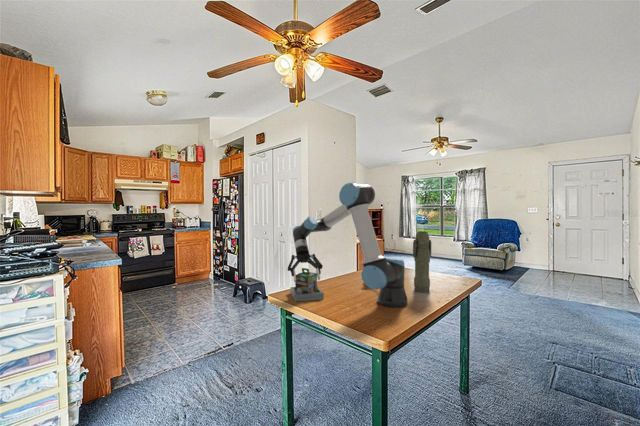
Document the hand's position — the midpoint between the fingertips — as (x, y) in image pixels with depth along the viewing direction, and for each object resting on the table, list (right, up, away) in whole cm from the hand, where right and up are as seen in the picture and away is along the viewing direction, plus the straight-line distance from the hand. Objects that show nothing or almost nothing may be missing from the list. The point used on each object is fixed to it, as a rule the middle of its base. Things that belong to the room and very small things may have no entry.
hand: (307, 280), depth 160 cm
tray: (-1, -10, +3) cm, 10 cm away
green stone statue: (+68, -9, +14) cm, 70 cm away
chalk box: (-1, -9, +3) cm, 9 cm away
